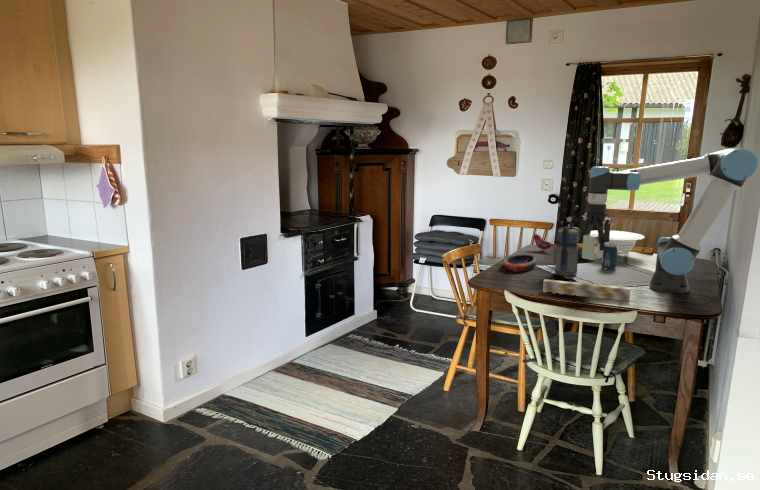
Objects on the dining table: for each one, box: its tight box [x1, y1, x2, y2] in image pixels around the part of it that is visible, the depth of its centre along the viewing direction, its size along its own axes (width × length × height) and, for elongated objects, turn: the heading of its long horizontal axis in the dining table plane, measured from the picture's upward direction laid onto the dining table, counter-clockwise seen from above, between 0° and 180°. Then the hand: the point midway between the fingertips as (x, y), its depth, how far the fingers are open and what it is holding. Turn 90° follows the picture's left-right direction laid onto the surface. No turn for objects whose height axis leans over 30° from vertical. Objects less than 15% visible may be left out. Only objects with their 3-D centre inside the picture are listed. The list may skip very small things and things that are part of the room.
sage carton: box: [581, 234, 603, 261], centre depth 228 cm, size 8×5×10 cm, turn 127°
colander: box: [590, 229, 646, 256], centre depth 294 cm, size 32×32×13 cm
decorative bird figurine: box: [532, 233, 558, 253], centre depth 308 cm, size 3×18×10 cm, turn 40°
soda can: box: [601, 244, 618, 270], centre depth 268 cm, size 7×7×12 cm
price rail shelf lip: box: [542, 278, 631, 302], centre depth 221 cm, size 34×4×5 cm, turn 66°
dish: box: [502, 253, 538, 273], centre depth 273 cm, size 16×31×5 cm, turn 147°
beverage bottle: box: [554, 222, 580, 277], centre depth 255 cm, size 10×13×25 cm
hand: (592, 256), depth 229 cm, fingers closed on sage carton, 5 cm apart
